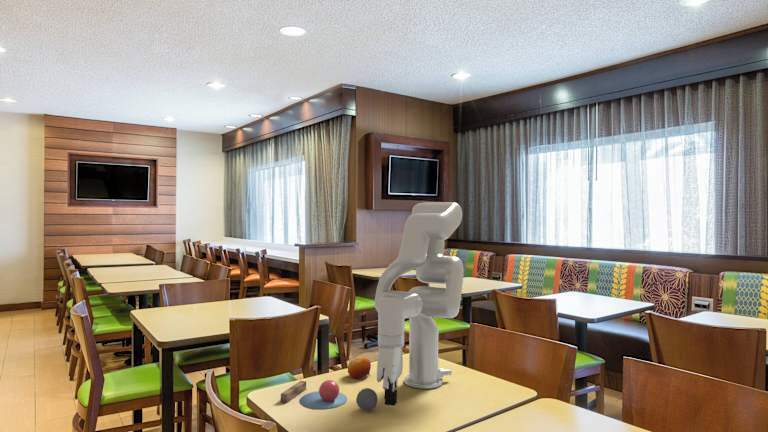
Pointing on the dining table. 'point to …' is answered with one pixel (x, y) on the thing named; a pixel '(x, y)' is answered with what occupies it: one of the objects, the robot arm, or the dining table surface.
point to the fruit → (359, 367)
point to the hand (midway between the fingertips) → (390, 404)
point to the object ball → (329, 390)
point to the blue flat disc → (321, 401)
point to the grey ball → (367, 399)
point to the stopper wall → (293, 391)
